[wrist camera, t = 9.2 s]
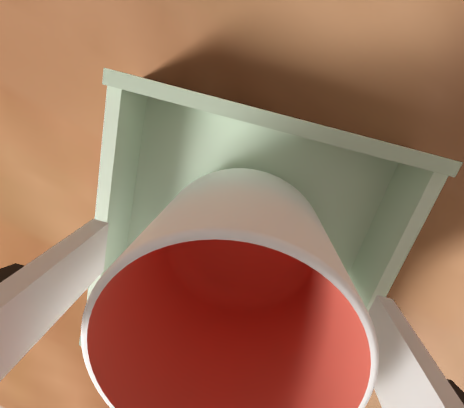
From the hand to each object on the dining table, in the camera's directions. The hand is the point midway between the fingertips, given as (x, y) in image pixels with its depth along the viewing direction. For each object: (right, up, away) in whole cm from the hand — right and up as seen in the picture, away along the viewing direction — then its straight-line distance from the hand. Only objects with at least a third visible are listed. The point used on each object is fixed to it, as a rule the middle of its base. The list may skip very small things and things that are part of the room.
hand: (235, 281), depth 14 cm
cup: (0, +2, +5) cm, 6 cm away
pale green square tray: (0, +2, +6) cm, 6 cm away
